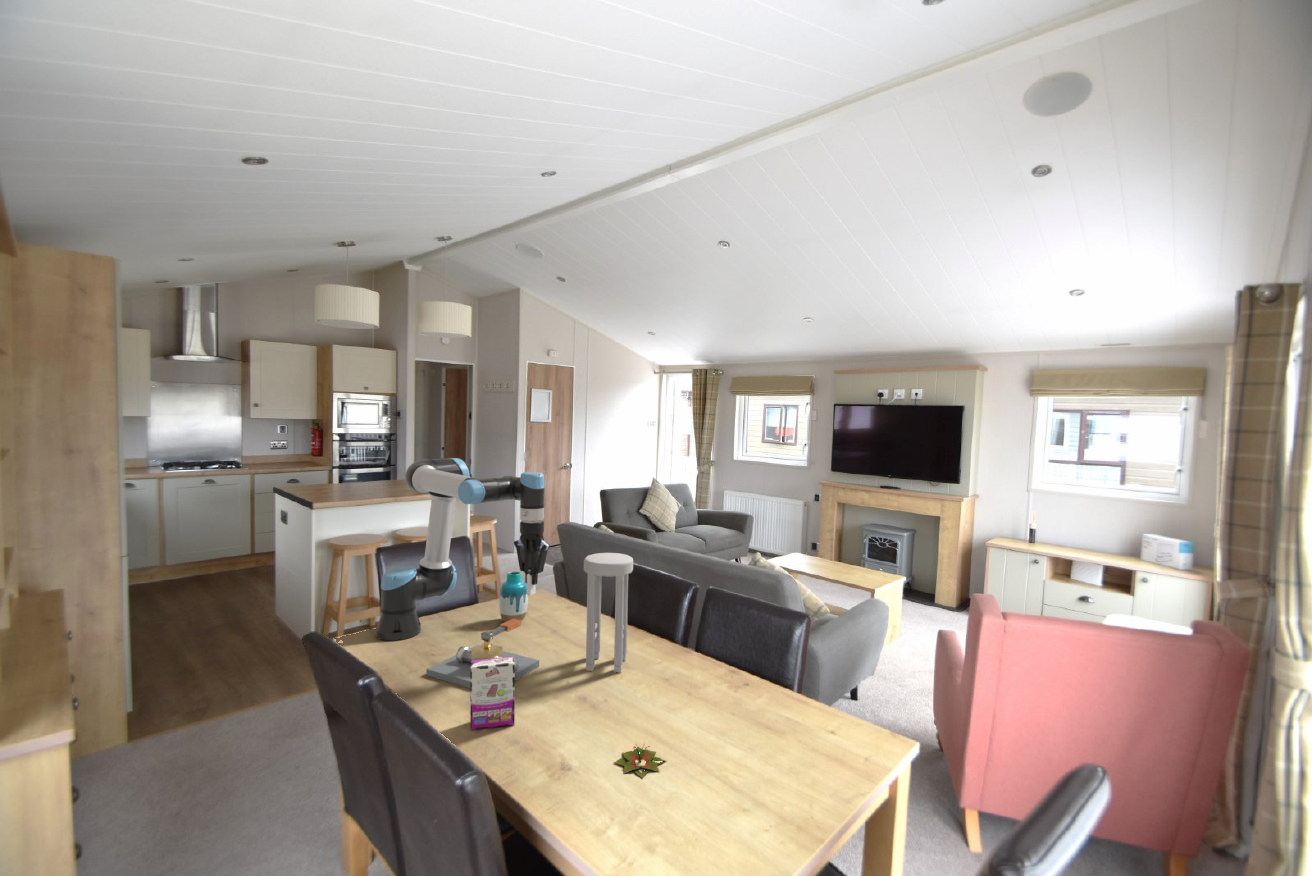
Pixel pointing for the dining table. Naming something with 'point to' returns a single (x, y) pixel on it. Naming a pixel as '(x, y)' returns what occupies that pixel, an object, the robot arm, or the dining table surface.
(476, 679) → the candy bar box
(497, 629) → the valve lever
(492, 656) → the valve pipe
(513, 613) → the vase
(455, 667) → the valve board
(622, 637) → the stool
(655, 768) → the lily flower
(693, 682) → the dining table surface
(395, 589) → the robot arm
